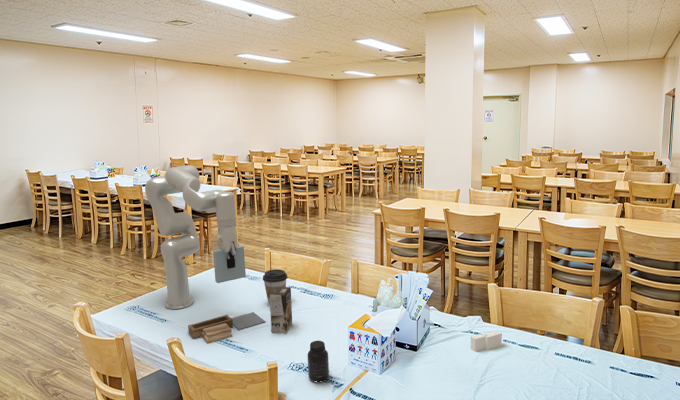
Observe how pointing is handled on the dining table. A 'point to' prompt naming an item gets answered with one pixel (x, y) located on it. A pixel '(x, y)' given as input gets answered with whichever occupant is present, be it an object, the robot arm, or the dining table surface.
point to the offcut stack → (216, 333)
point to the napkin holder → (486, 341)
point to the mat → (247, 321)
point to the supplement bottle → (318, 361)
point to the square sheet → (221, 265)
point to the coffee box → (281, 309)
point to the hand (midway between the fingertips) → (229, 266)
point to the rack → (208, 325)
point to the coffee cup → (274, 281)
